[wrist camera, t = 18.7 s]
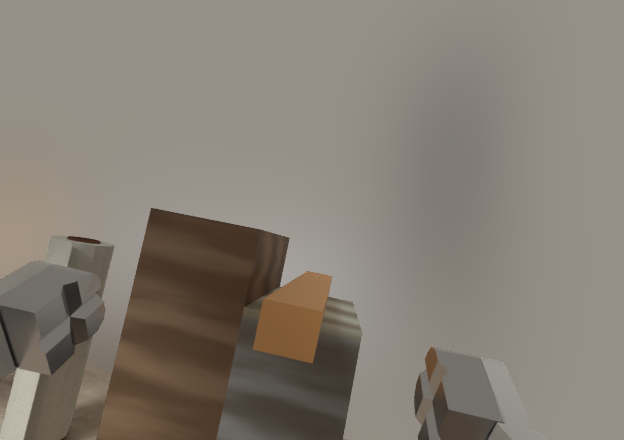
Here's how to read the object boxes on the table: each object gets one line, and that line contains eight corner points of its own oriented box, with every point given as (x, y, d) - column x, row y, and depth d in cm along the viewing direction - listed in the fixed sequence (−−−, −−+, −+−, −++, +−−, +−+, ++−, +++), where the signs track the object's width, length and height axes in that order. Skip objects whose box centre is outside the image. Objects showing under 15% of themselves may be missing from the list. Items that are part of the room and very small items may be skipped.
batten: (312, 363, 17) (322, 311, 17) (252, 349, 17) (263, 298, 17) (327, 296, 42) (331, 276, 42) (303, 291, 42) (307, 271, 42)
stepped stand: (308, 623, 24) (376, 252, 26) (69, 552, 26) (151, 207, 28) (320, 475, 40) (362, 252, 42) (172, 437, 41) (219, 224, 43)
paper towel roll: (40, 414, 41) (85, 235, 42) (82, 430, 39) (126, 245, 41) (-32, 446, 34) (25, 230, 35) (16, 467, 32) (73, 242, 34)
